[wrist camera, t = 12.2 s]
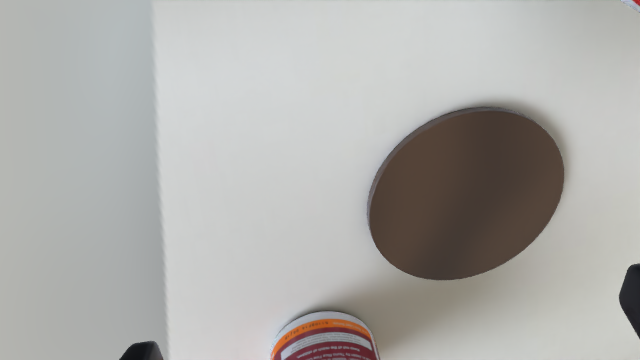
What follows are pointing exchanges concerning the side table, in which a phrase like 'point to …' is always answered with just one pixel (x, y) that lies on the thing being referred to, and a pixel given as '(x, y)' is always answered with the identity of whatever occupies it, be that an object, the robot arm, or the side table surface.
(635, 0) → the cup
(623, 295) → the robot arm
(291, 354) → the pill bottle
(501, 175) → the coaster
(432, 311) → the side table surface
